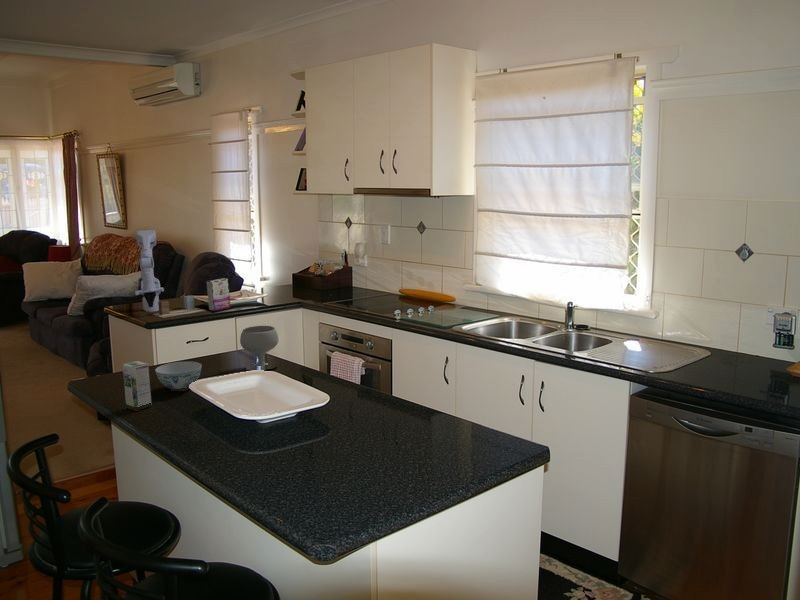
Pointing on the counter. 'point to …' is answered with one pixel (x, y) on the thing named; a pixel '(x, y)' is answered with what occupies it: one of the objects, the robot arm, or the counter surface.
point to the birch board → (180, 312)
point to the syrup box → (136, 384)
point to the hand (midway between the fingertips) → (150, 306)
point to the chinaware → (178, 374)
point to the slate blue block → (189, 302)
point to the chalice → (259, 341)
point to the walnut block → (163, 308)
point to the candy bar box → (218, 294)
